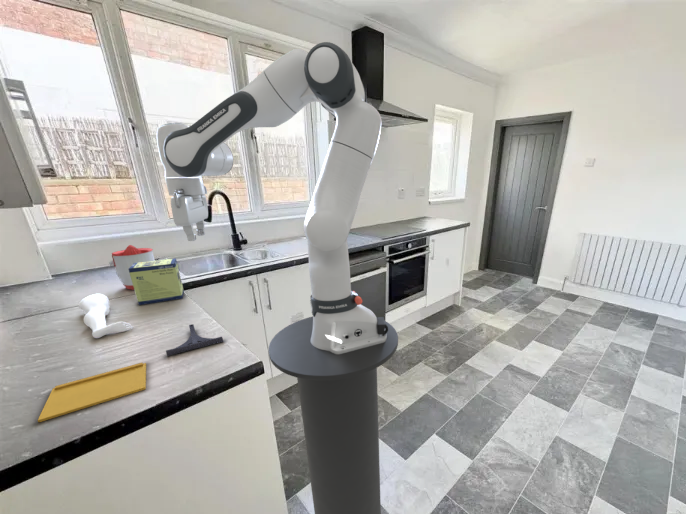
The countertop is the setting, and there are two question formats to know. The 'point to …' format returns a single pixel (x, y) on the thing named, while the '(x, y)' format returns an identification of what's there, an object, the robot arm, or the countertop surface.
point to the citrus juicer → (129, 262)
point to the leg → (100, 316)
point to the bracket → (193, 343)
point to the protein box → (156, 281)
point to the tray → (94, 390)
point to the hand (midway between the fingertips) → (197, 237)
